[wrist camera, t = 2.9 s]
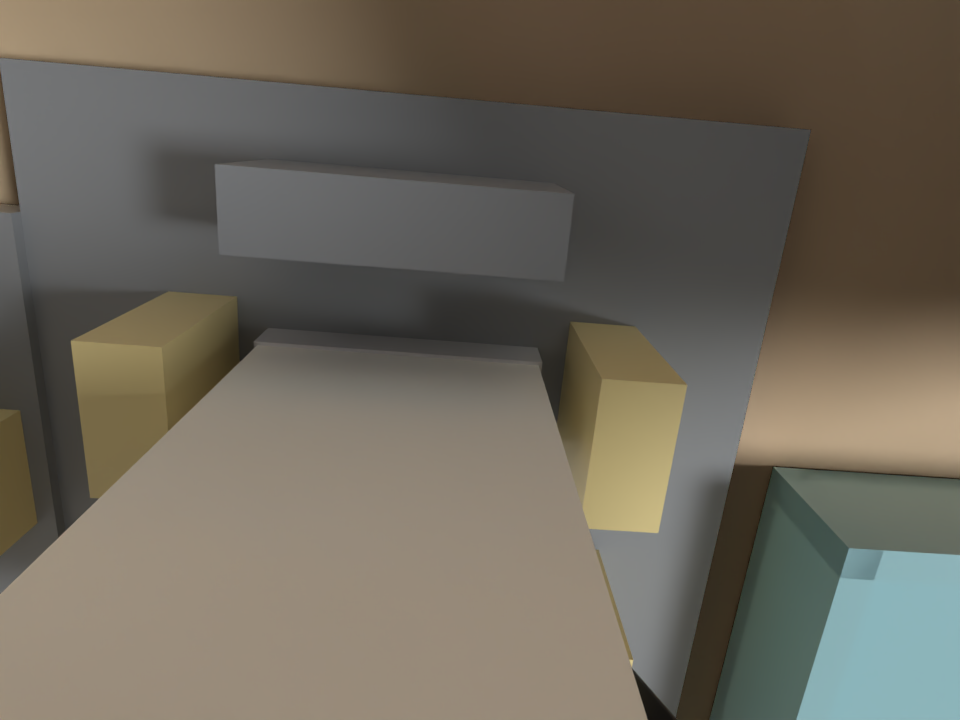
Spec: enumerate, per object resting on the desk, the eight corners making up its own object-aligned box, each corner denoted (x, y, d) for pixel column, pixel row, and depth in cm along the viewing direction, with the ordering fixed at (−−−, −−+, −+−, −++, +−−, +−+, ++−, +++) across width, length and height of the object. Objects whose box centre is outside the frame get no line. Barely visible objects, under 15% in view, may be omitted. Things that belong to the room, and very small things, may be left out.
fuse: (537, 347, 10) (935, 1553, 1) (506, 619, 12) (607, 1934, 3) (268, 327, 10) (-1050, 1559, 1) (274, 606, 11) (-290, 1961, 3)
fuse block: (791, 130, 10) (1155, 120, 4) (654, 744, 13) (769, 1116, 8) (-461, 19, 9) (-1715, -144, 4) (-227, 701, 13) (-696, 1080, 8)
